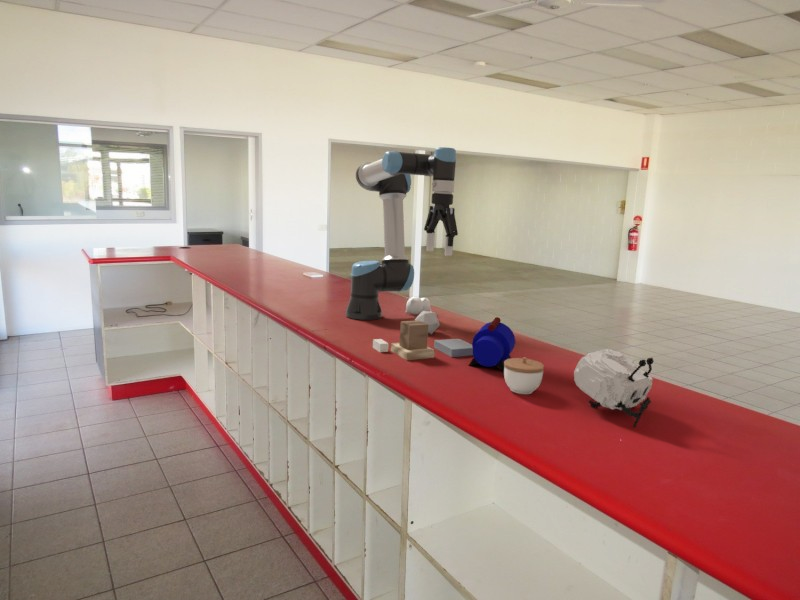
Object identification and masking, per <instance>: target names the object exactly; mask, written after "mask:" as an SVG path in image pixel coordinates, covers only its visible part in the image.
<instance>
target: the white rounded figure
mask: <svg viewBox="0 0 800 600" xmlns="http://www.w3.org/2000/svg"><path fill="white" fill-rule="evenodd" d="M405 307H406V309H405V310H404V312H405V313H406V314H411V315H417V316H418V315H419V314H420V313H421V312H422V311H429V312H433V310H432V308H431V302H430V299H428V298H427V297H418V296H412V297H409V299H408V300H407V301H406V306H405Z"/></svg>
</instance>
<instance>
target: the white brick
mask: <svg viewBox="0 0 800 600" xmlns="http://www.w3.org/2000/svg"><path fill="white" fill-rule="evenodd" d="M372 349H374V350H376V351H377V352H378V353H384V352H385V353H386V352H387V353H388V352H389V343H388V341H386V340H384V339H382V338H376V339H375V338H373V339H372Z"/></svg>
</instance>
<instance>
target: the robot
mask: <svg viewBox="0 0 800 600" xmlns="http://www.w3.org/2000/svg"><path fill="white" fill-rule="evenodd" d="M654 362H655V361H654V358H653V357H648V358H647V359H641V360H639V361H638V364H639V365H637V364H636V363H634V360H633V359H631V358H627V357H626V356H624V354H623V353H622V352H621V351H618V350H614V349H611V348H609V349H608V348H604V349H601V350H597V351H593V352H592V351H591V352H589V353H587V354H586V355H585V356H582V357H581V358H580V359H579V361H578V363H577V364H576V366H575V369H574V371H573V375H574V376H573V377H574V379H573V381H574V382H575V385H576V387H578V388H579V390H581V391H582V392H583V393H584V394H586V395H587V396H589V397H590V398H591V399H593V400H594V401H592V400H589V401H588V403H589V404H590V407H591V408H593V409H598V408H599V407H601V406H602V407H603V408H607V409H610V410H616V409H617V410H619V411H622V412H624V413H625V414H626V415H628V416H629V417H633V418H635V421H634V423H633V424H632V427H633V428H634V429H635V428H636V427H637V424H638V422H639V421H640V418H641V416H642V414H643V412H644V411H645V410H647V409H648V408H649V405H650V404H651V403H652V400H651V399H650V397H649V396H648V393H649V392H650V391H651V388H652V386H653V381H654V380H653V377H652V376H650V373H651V371H652V370H653V369H652V365H653V363H654ZM646 365H647V366H648V370H647V371H644V370H643V369H641V368H642V367H645V366H646ZM647 396H648V397H647ZM639 404H640V407H639V408H638V411H639V412H636V411H632V410H631V408H634V407H637V406H638V405H639Z"/></svg>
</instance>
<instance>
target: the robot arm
mask: <svg viewBox="0 0 800 600" xmlns="http://www.w3.org/2000/svg"><path fill="white" fill-rule="evenodd" d="M456 161H457V150H456V149H455V148H453V147H447V146H446V147H445V146H443V147H442V146H440V147H439V146H438V147H436V148H435V149H434V153H433V154H431V153H430V154H428V153H415V152H412V153H411V152H402V151H397V150H394V151H389V150H388V151H386V152H384V155H383V156H382V158H381V159H378V160H376V161H373V162H371V161H369V162H364V163H362V164H360V165H359V166H358V167H357V169H356V171H355V178H356V182H357V184H358V185H359V186H360V187H361V188H362V189H364V190H366V191H369V192H379V193H378V194H379V195H378V197H379V198H380V199H381V200H382V207H383V208H382V209H383V210H382V211H383V214H382V215H383V240H384V244H383V245H384V257H383V258H382V259H381V262H380V261H379V260H362V261H356V262H354V263H353V264H352V265H351V271H350V279H351V280H350V298H349V301H348V303H347V307H346V310H345V316H346V317H347V318H350V319H352V320H361V321H369V320H371V321H373V320H378V319H381V318H382V316H383V315H382V313H383V312H382V311H383V310H382V308H381V304H380V302H379V301H380V300H379V292H398V293H399V292H405V291H408V290H410V289H411V287H412V285H413V284H414V283H413V282H414V279H415V269H414V266H413V264H412V263H409V261H410V260H409V258H408V257H407V256H406V254H405V253H406V250H405V249H406V248H405V247H406V246H405V244H406V243H405V225H404V224H405V220H404V199H405V198H406V197H407V194H408V193H409V192H410V190H411V188H412V177H411V176H412V175H415V176H425V177H432V183H431V185H432V187H431V188H432V192H433V193H432V194H431V204H433V205H430V206H429V210H428V211H429V212H428V214H427V217H426V221H425V224H424V228H423V230H424V231H426V235H427V236H426V248H425V249H426V252H434V250H435V235H436V234H435V233H436V232H435V230H436V228H437V226H438V224H439V222H440V221H441V222H442V224H443V227H444V230H445V233H446V234H445V240H444V241H445V242H444V256H445V257H446V256H447V257H448V256H449V257H451V256H452V257H453V251H454V250H453V249H454V238H455V236H458V234H459V233H458V228H457V222H456V215H455V211H456V210H455V207H450V205H453V203H454V195H453V193H454V192H455V191H454V190H455V176H456V164H457V163H456Z"/></svg>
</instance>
